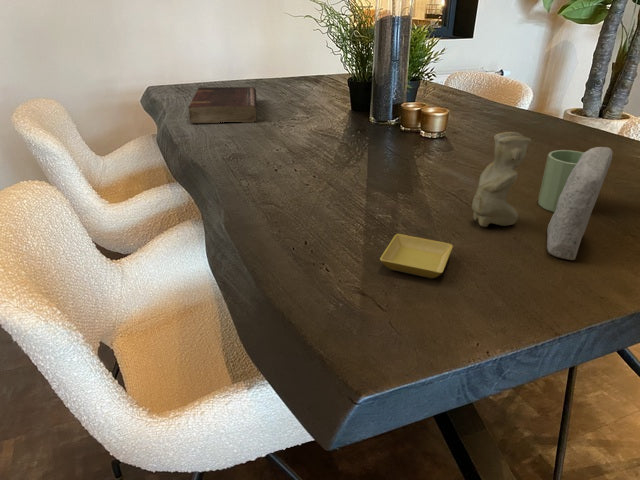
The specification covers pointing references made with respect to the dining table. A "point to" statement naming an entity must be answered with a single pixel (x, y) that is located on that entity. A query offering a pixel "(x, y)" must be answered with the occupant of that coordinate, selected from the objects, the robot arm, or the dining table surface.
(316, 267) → the dining table surface
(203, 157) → the dining table surface
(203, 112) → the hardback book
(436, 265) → the yellow shallow tray
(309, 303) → the dining table surface
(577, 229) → the decorative stone
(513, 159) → the sculpture
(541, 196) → the sage cup
